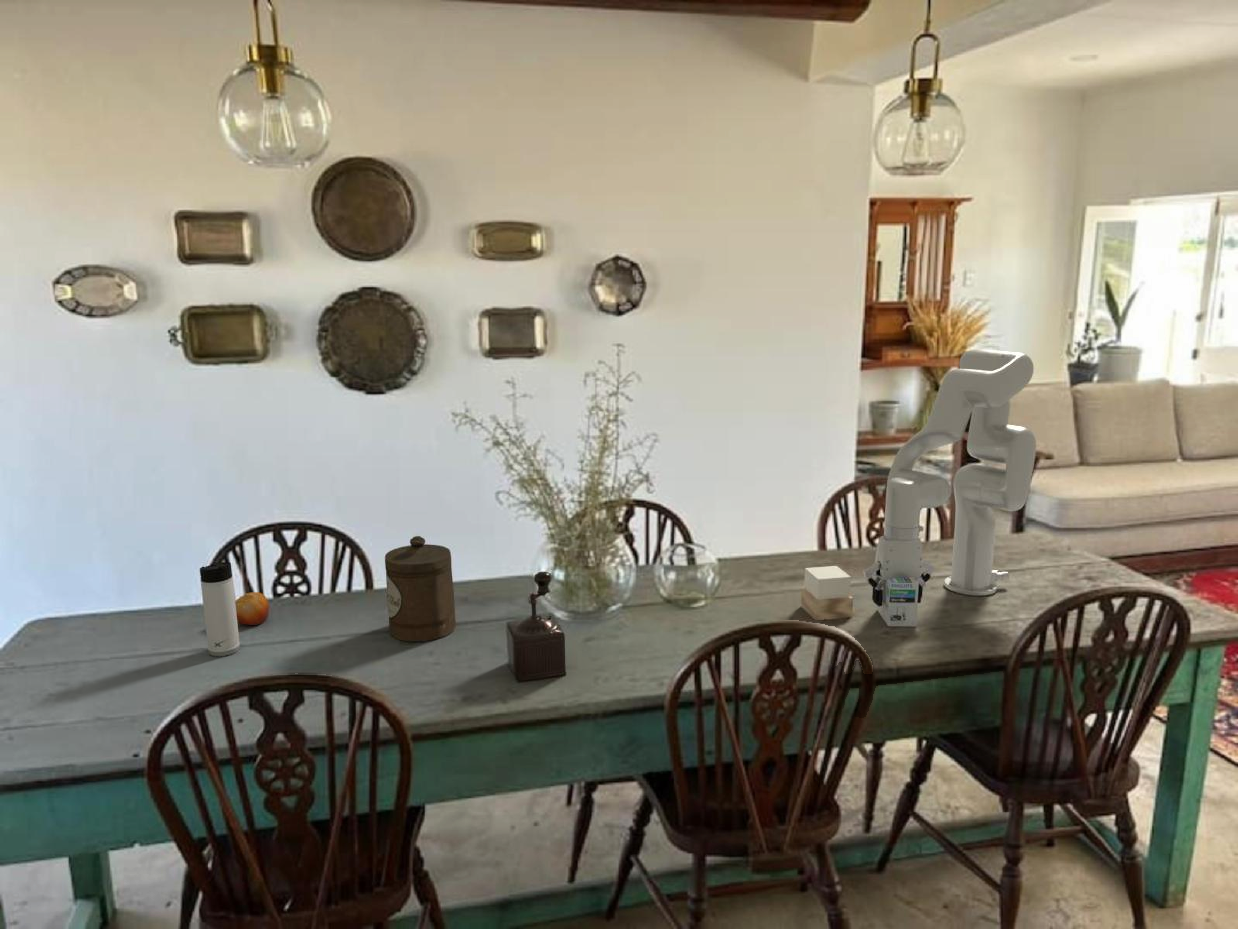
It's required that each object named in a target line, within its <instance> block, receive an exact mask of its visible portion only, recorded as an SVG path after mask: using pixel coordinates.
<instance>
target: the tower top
mask: <svg viewBox="0 0 1238 929" xmlns="http://www.w3.org/2000/svg"><path fill="white" fill-rule="evenodd" d="M851 577H852V576H850V575H849V574H848V573H847V572H845V571H844V570H843V569H841V568H840V567H839V566H837V565H830V566H829V565H828V566H815V567H805V568H804V580H803V581H804V582H803V583H804V584H803V588H805V589H806V590H807V591H808V592H809V593H810V594H812V595H813V596H814V597H815V598H816V599H817V600H821V599H833V598H845V597H850V596H851V579H852V578H851Z"/></svg>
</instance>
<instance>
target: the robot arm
mask: <svg viewBox="0 0 1238 929" xmlns="http://www.w3.org/2000/svg"><path fill="white" fill-rule="evenodd" d="M1034 367H1035V366H1034V362H1033V360H1032V358H1031V357H1030V356H1029V355H1028V354H1026V353H1022V352H1016V351H1015V352H1014V351H1006V350H1005V351H1003V350H993V349H971V350H967V351H965V352H963V354H962V355H961V356H960V359H959V368H956V369H951V370H949V371H948V372H947V373H946V374H945V375H944V377H943V379H942V381H941V383H940V386H939V389H938V392H937V395H936V397H935V401H934V403H933V406H932V408H931V411H930V414H929V416H928V417H929V418H928V419H927V422H926V425H925V426H924V427H923V429H921V430H920V431H918V432H917V433H915V434H914V435H913V436H912V437H910V438H909V439H908V440H907V441H906V442H905V443H904V444H903V445H902V446H901V447H900V448H899V450H898V451H897V453H896V455H895V457H894V459H893V462H892V465H891V466H890V469H889V473H888V477H887V481H886V494H885V511H884V524H883V526H884V529H883V535H881V536H880V537H879V539H878V543H877V547H876V552H875V558H874V563H873V564H871V565H870V566H868V567H866V568H865V569H863V571H862V573H863V576H864V578H865V580H866V582H867V583H868V584H869V585H870V586H871V587H872V592H871V593H872V594H871V595H872V596H871V600H872V601H873V603H874V604H875V605H876V606H877V605H878V606H882V600H883V590H881V588H882V587H883V585H884V584H885V583H886V582H887V579H892V578H908V577H914V578H915V579H916V580H917V581H918V582H919V589H918V604H920V603H922V598H923V591H924V587H925V586H926V583H927V582H928V581H929V579H931V575H932V574H933V573H934V570H935V566H934V565H932V564H931V563H929V562H926V561H924V558H923V546H922V539H921V537H920V533H921V532H924V529H925V528H924V526H923V525H921V524H920V512H921V509H933V508H934V509H935V508H939V507H941V506H943V505H944V504H945V503H947V501H948V500H949V499H950V496H951V485H950V483H949V482H948V480H947V479H946V478H944V477H942V476H940V475H936V474H932V473H926V472H923V471H919V470H918V471H917V470H913V469H914V467H915V465H916V463H917V461H919V459H920V458H921V457H922V456H924V455H925V454H926V453H928V452H930V451H933V450H935V449H938V448H940V447H944V446H948V445H951V444H954V443H957V442H959V441H961V440H962V439H963V437H964V433H965V431H966V429H967V425H968V424H969V428H968V429H969V430H968V434H967V442H966V450H967V453H968V454H969V455H970V457H973V458H975V459H977V460H982V461H986V462H991V463H997V464H1003V465H1005V469H1002V468H997V467H993V466H987V465H982V464H968V465H967V464H966V465H963V466H961V467H960V468H959V469H958V470H957V471H956V473H955V475H954V478H953V493H954V501H955V503H954V504H955V515H954V516H955V519H954V534H953V548H952V560H951V561H952V562H951V574H950V576H948V577H946V578H944V580H943V585H944V587H945V588H946V589H947V590H950V591H952V592H954V593H957V594H961V595H967V596H977V597H978V596H979V597H980V596H981V597H982V596H989V595H993V594H995V593H996V592H997V591H998V585H997V583H996V582H998V581H1000V580H1001V581H1005V580H1009V578H1010V574H1009V572H1008V571H1002V572H1001V571H1000V572H999V571H998V570H996V569H995V570H993V560H994V549H995V537H996V526H997V523H996V517H995V514H994V512H993V509H997V510H1004V511H1009V512H1016V511H1019V510H1020V509H1022V508H1023V507H1024V506H1025V504H1026V502H1027V499H1028V496H1029V493H1030V487H1031V482H1032V476H1033V471H1034V470H1033V469H1034V465H1035V461H1036V460H1035V459H1036V454H1037V453H1036V452H1037V441H1036V436H1035V434H1034V433H1033V432H1032V431H1031V430H1030V429H1028V428H1027V427H1025V426H1021V425H1013V424H1009V416H1010V409H1011V402H1010V401H1011V399H1012V398H1013V397H1014V396H1016V395H1017V394H1018V393H1020V392H1021V391H1022V390H1024V388H1026V387H1027V386H1028V385H1029V383H1030V381H1031V380H1032V378H1033V375H1034V370H1035V368H1034ZM969 420H970V423H968V422H969ZM992 508H993V509H992ZM923 568H925V570H924V572H923ZM873 574H874V575H875V577H874V578H873Z"/></svg>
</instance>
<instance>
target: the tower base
mask: <svg viewBox="0 0 1238 929" xmlns="http://www.w3.org/2000/svg"><path fill="white" fill-rule="evenodd" d="M853 605H854V597H852V596H851V595H850V597H845V598H833V599H821V600H817V599H816V598H815V597H814V596H813V595H812V594H810V593H809V592H808V591H807V590H806V589H805V588H804V587H801V597H800V607H801V608H802V609H803V610H804V611H805V612H806V613H807V614H808V615H809V616H810V617H811V618H812V619H814V620H815V621H823V620H824V619H826V620H835V619H846V618H847V617H849V618H853V607H854V606H853ZM847 619H848V618H847ZM824 621H825V620H824Z"/></svg>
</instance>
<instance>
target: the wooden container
mask: <svg viewBox="0 0 1238 929" xmlns="http://www.w3.org/2000/svg"><path fill="white" fill-rule="evenodd" d="M409 544H410V545H405V546H401V547H397V548H394V549H391V550H389V551H388V552H387V553H385V555H384V567H385V577H386V579H385V580H386V582H385V583H386V598H387V599H386V601H387V612H388V613H387V614H388V624H389V633H390V635H391V636H392V637H393V638H394V639H397V640H400V641H404V642H413V643H415V642H416V643H417V642H428V641H434V640H437V639H441V638H444V637H446V636H448V635H450V634H451V633H453V631H455V630H456V627H457V625H456V622H457V621H456V608H455V606H456V605H455V592H454V584H453V583H454V582H453V580H454V579H453V569H452V555H451V550H450V548H448V547H446V546H443V545H438V544H427V543H426V540H425V538H424V537H422V536H420V535H415V536H413V537H412V538H410V540H409Z"/></svg>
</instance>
